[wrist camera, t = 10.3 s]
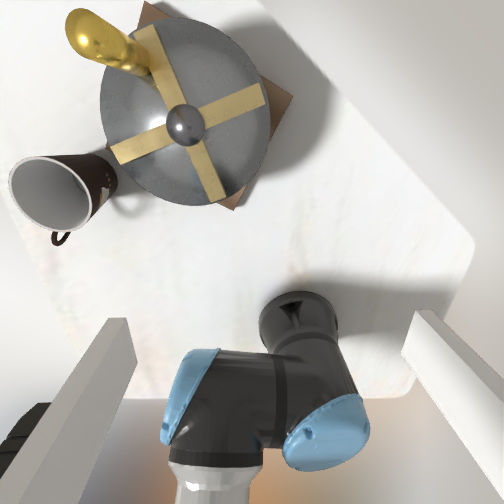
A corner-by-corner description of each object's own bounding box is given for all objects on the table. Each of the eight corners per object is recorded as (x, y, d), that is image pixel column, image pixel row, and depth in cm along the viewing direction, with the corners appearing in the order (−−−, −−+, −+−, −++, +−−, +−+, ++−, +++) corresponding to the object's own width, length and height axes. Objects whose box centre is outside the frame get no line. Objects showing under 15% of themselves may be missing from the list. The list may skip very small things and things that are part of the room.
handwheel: (233, -13, 25) (228, -98, 15) (288, 172, 33) (310, 199, 23) (70, 67, 27) (-32, 41, 17) (158, 221, 35) (125, 265, 25)
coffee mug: (85, 131, 36) (34, 138, 27) (137, 180, 39) (107, 200, 30) (39, 188, 39) (-20, 210, 30) (90, 228, 42) (51, 259, 33)
